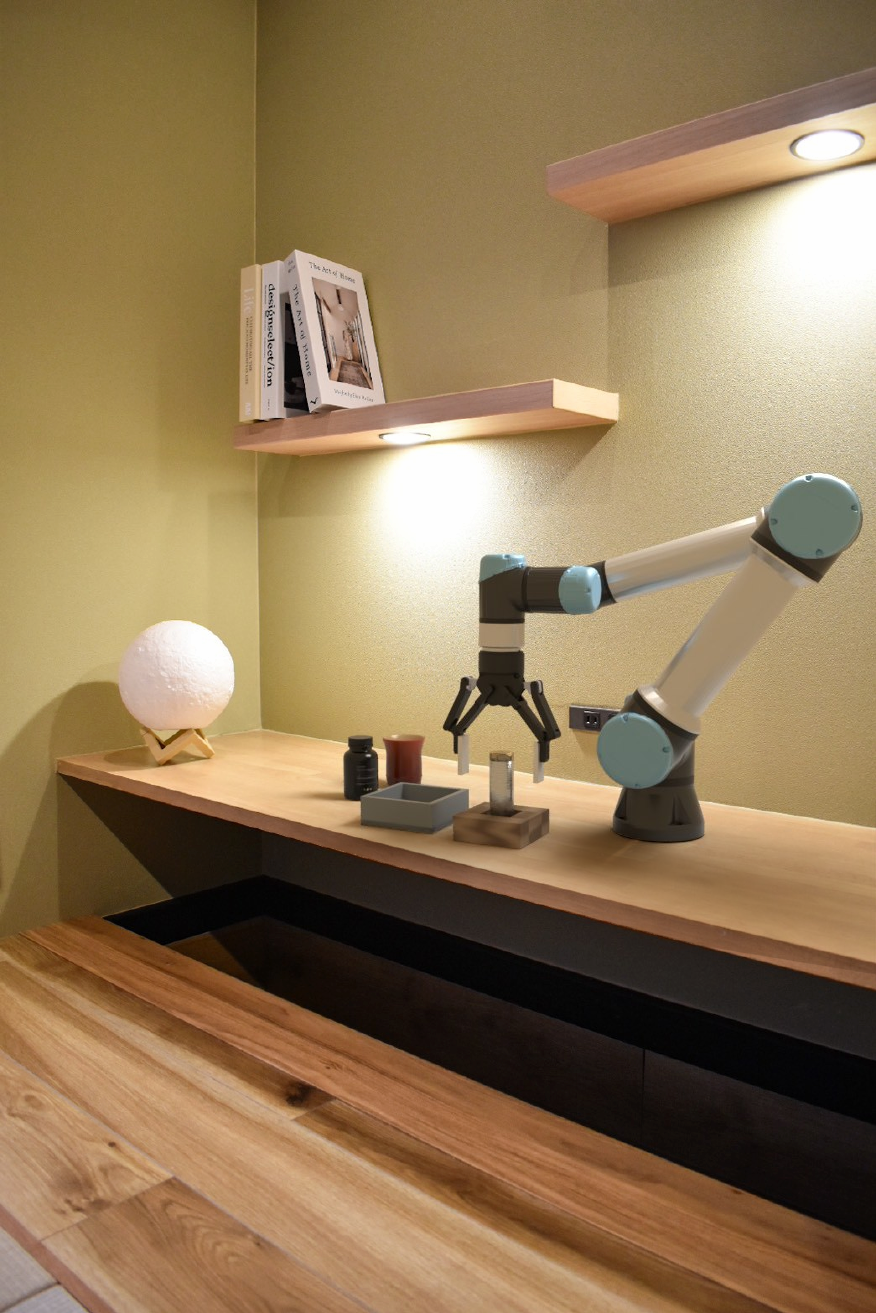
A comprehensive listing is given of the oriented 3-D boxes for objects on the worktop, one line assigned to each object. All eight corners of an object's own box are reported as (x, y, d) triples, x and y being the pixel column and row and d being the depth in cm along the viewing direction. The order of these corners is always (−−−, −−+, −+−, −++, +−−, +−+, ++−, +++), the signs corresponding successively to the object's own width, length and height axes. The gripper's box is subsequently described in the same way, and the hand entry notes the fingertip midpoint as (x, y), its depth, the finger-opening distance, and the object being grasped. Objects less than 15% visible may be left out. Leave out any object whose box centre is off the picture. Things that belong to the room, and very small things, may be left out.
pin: (517, 834, 169) (517, 751, 168) (507, 840, 165) (507, 755, 164) (495, 832, 171) (495, 749, 170) (485, 837, 167) (485, 753, 166)
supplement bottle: (338, 796, 200) (337, 735, 199) (370, 792, 203) (369, 733, 202) (351, 802, 194) (351, 740, 193) (384, 799, 197) (383, 737, 196)
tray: (468, 816, 182) (468, 789, 181) (431, 833, 170) (431, 804, 169) (401, 808, 188) (401, 782, 188) (360, 824, 176) (360, 796, 176)
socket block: (549, 832, 170) (549, 808, 170) (520, 848, 160) (520, 823, 159) (484, 824, 176) (484, 801, 176) (452, 840, 165) (452, 815, 165)
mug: (431, 789, 206) (431, 739, 205) (390, 792, 203) (390, 741, 202) (412, 778, 217) (411, 730, 217) (372, 781, 214) (372, 733, 214)
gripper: (582, 650, 163) (579, 781, 165) (444, 645, 175) (443, 766, 176) (565, 653, 156) (563, 789, 158) (423, 647, 168) (422, 774, 170)
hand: (500, 777), depth 167 cm, fingers open, 13 cm apart
